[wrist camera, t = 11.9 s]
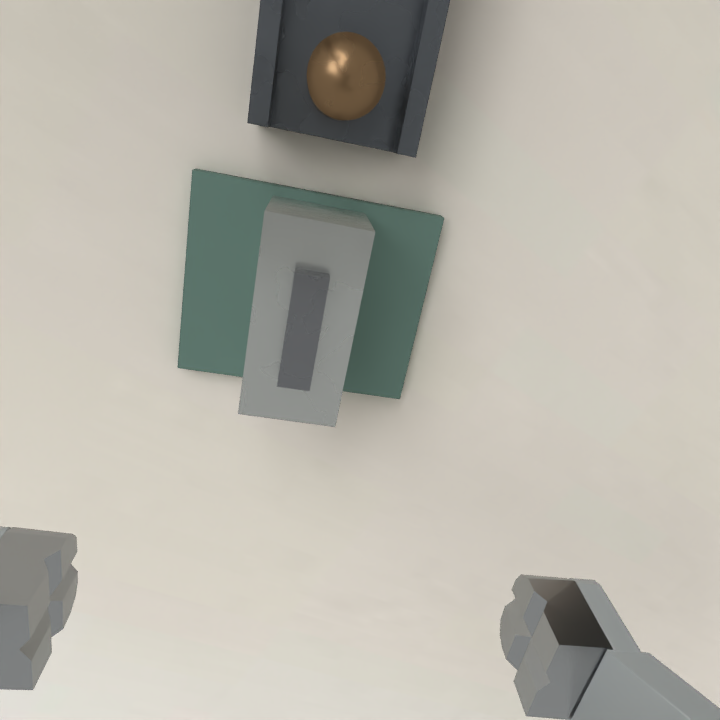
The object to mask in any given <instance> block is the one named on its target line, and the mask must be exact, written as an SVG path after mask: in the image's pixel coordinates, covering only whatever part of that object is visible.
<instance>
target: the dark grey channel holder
mask: <svg viewBox="0 0 720 720" xmlns="http://www.w3.org/2000/svg"><path fill="white" fill-rule="evenodd" d="M449 3H450V0H261V1H260V10H259V20H258V29H257V38H256V48H255V57H254V66H253V76H252V85H251V94H250V104H249V113H248V122H247V123H250V124H255V125H260V126H265V127H274V128H279V129H284V130H288V131H293V132H298V133H303V134H308V135H313V136H318V137H322V138H327V139H332V140H337V141H342V142H347V143H352V144H356V145H361V146H366V147H371V148H376V149H381V150H386V151H390V152H394V153H397V154H401V155H406V156H411V157H416V154H417V149H418V145H419V140H420V136H421V131H422V126H423V122H424V117H425V113H426V108H427V104H428V99H429V94H430V90H431V85H432V81H433V76H434V71H435V67H436V62H437V58H438V53H439V48H440V44H441V39H442V35H443V30H444V26H445V21H446V16H447V12H448V7H449Z"/></svg>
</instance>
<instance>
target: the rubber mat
mask: <svg viewBox="0 0 720 720" xmlns="http://www.w3.org/2000/svg"><path fill="white" fill-rule="evenodd" d="M273 195H275V196H280V197H285V198H290V199H296V200H301V201H306V202H311V203H316V204H321V205H327V206H332V207H337V208H342V209H347V210H352V211H358V212H363V213H365V214H366V216H367V218H368V219H369V221H370V223H371V225H372V226H373V228H374V230H375V236H374V241H373V246H372V251H371V256H370V261H369V265H368V270H367V275H366V280H365V285H364V290H363V295H362V299H361V304H360V309H359V314H358V319H357V324H356V328H355V333H354V338H353V343H352V348H351V353H350V357H349V362H348V367H347V372H346V377H345V382H344V386H343V391H346V392H353V393H360V394H367V395H374V396H381V397H388V398H396V399H400V396H401V392H402V388H403V384H404V380H405V376H406V372H407V368H408V363H409V359H410V355H411V351H412V347H413V343H414V339H415V335H416V331H417V327H418V323H419V319H420V315H421V311H422V307H423V302H424V298H425V294H426V290H427V286H428V282H429V278H430V274H431V270H432V266H433V262H434V258H435V254H436V250H437V246H438V241H439V237H440V233H441V229H442V225H443V221H444V217H442V216H441V215H436V214H430V213H425V212H420V211H415V210H409V209H404V208H399V207H394V206H389V205H383V204H378V203H373V202H368V201H362V200H357V199H352V198H347V197H342V196H336V195H331V194H326V193H321V192H315V191H310V190H305V189H300V188H294V187H289V186H284V185H279V184H274V183H268V182H263V181H258V180H253V179H247V178H242V177H237V176H232V175H227V174H221V173H216V172H211V171H206V170H200V169H194V170H192V182H191V196H190V209H189V222H188V236H187V249H186V262H185V276H184V289H183V302H182V316H181V329H180V343H179V356H178V368H182V369H189V370H196V371H203V372H210V373H217V374H225V375H232V376H239V377H243V372H244V365H245V357H246V349H247V342H248V334H249V326H250V319H251V311H252V303H253V295H254V288H255V280H256V272H257V265H258V257H259V249H260V242H261V234H262V226H263V218H264V211H265V209H266V207H267V205H268V204H269V202H270V200H271V198H272V196H273Z"/></svg>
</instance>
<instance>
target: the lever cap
mask: <svg viewBox="0 0 720 720" xmlns="http://www.w3.org/2000/svg"><path fill="white" fill-rule="evenodd" d="M374 236H375V230H374V228H373V226H372V225H371V223H370V221H369V219H368V218H367V216H366V214H365V213H363V212H358V211H352V210H347V209H342V208H337V207H332V206H327V205H321V204H316V203H311V202H306V201H301V200H296V199H290V198H285V197H280V196H275V195H273V196H272V198H271V200H270V202H269V204H268V205H267V207H266V209H265V211H264V218H263V226H262V234H261V242H260V249H259V257H258V265H257V272H256V280H255V288H254V295H253V303H252V311H251V319H250V326H249V334H248V342H247V349H246V357H245V365H244V372H243V380H242V388H241V396H240V403H239V411H238V414H243V415H250V416H258V417H265V418H272V419H280V420H287V421H295V422H302V423H309V424H317V425H324V426H332V427H335V425H336V420H337V415H338V411H339V406H340V401H341V396H342V391H343V386H344V382H345V377H346V372H347V367H348V362H349V357H350V353H351V348H352V343H353V338H354V333H355V328H356V324H357V319H358V314H359V309H360V304H361V299H362V295H363V290H364V285H365V280H366V275H367V270H368V265H369V261H370V256H371V251H372V246H373V241H374Z"/></svg>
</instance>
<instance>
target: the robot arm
mask: <svg viewBox="0 0 720 720" xmlns="http://www.w3.org/2000/svg"><path fill="white" fill-rule="evenodd" d="M76 553H77V537H76V536H75V535H74V534H70V533H61V532H52V531H43V530H35V529H26V528H17V527H12V528H10V527H2V526H0V689H12V690H33V689H34V687H35V685H36V683H37V681H38V679H39V677H40V675H41V673H42V671H43V669H44V667H45V665H46V663H47V661H48V659H49V657H50V655H51V653H52V644H51V637H52V636H54V635H55V634H57V633H58V632H59V631H61V630H62V629H63V628H64V626H65V624H66V622H67V620H68V618H69V615H70V613H71V610H72V606H73V603H74V600H75V597H76V590H77V583H78V571H77V570H76V569H75V568H74V567H73V566H72V564H71V563H72V561H73V559H74V557H75V555H76ZM512 591H513V594H514V596H515V599H514V600H513V601H512V602H510V603H509V604H508V605H506V606H505V608H504V611H503V614H502V617H501V620H500V639H501V645H502V649H503V652H504V655H505V658H506V659H507V660H508V661H509V662H510V663H511V664H512V665H513V666H514V667H515V668H516V669H517V673H516V676H515V679H514V684H515V687H516V689H517V692H518V695H519V698H520V701H521V703H522V706H523V709H524V712H525V715H526V716H531V717H543V718H555V719H567V720H720V708H719V707H717V706H716V705H715V704H714V703H712V702H711V701H710V700H708V699H707V698H706V697H705V696H703V695H702V694H701V693H700V692H698V691H697V690H696V689H694V688H693V687H692V686H691V685H689V684H688V683H687V682H685V681H684V680H683V679H682V678H680V677H679V676H678V675H677V674H675V673H674V672H673V671H671V670H670V669H669V668H668V667H666V666H665V665H664V664H663V663H661V662H660V661H659V660H657V659H656V658H655V657H654V656H652V655H651V654H650V653H646V652H641V651H640V649H639V648H638V646H637V644H636V643H635V641H634V639H633V638H632V636H631V634H630V633H629V631H628V629H627V628H626V626H625V625H624V623H623V621H622V620H621V618H620V616H619V615H618V613H617V611H616V610H615V608H614V607H613V605H612V603H611V602H610V600H609V598H608V597H607V595H606V593H605V592H604V590H603V588H602V587H601V585H600V584H599V583H597V582H596V581H595V580H587V579H573V578H569V579H567V578H558V577H546V576H533V575H520V576H519V577H518V578H517V579H516V580H515V583H514V585H513V587H512Z"/></svg>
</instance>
